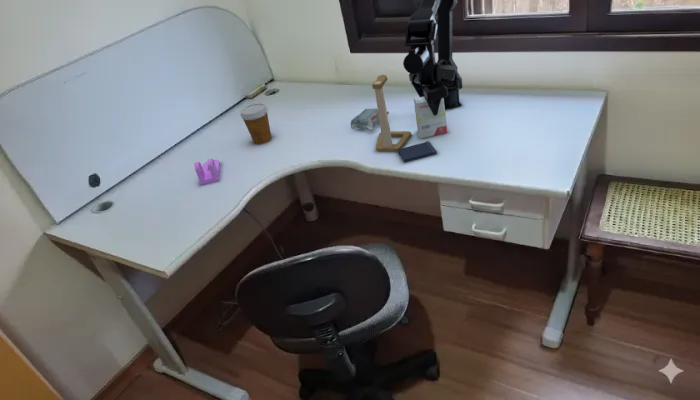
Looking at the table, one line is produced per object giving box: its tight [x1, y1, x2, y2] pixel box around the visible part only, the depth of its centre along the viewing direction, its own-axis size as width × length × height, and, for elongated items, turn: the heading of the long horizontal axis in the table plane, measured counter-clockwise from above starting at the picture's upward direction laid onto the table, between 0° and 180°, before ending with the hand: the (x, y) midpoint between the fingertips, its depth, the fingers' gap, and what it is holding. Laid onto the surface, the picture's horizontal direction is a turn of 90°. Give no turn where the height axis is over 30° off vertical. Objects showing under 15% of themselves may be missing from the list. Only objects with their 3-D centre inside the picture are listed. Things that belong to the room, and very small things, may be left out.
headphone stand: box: [371, 74, 412, 153], centre depth 156 cm, size 10×11×22 cm
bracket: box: [193, 158, 221, 186], centre depth 166 cm, size 13×6×7 cm, turn 9°
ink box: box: [413, 96, 448, 139], centre depth 160 cm, size 9×5×12 cm, turn 95°
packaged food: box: [350, 107, 390, 131], centre depth 174 cm, size 9×12×5 cm
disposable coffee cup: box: [239, 102, 272, 145], centre depth 179 cm, size 10×10×12 cm
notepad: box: [397, 140, 438, 163], centre depth 154 cm, size 10×7×1 cm
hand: (430, 109), depth 159 cm, fingers open, 9 cm apart
